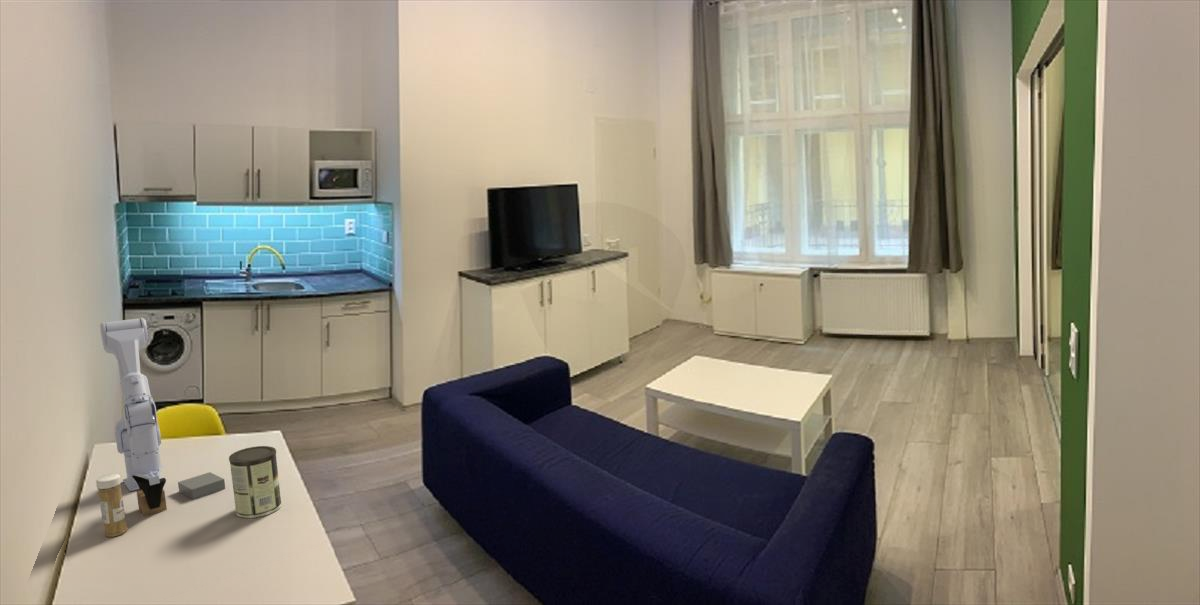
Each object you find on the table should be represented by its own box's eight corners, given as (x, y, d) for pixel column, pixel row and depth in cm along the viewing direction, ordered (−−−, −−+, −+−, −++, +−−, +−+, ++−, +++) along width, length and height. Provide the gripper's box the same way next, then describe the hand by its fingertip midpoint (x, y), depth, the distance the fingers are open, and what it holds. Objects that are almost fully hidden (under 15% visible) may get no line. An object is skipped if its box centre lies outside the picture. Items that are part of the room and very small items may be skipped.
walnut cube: (139, 509, 185) (136, 490, 184) (162, 503, 188) (159, 484, 187) (143, 516, 181) (140, 496, 180) (166, 510, 185) (164, 490, 184)
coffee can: (257, 497, 190) (251, 443, 188) (291, 502, 187) (285, 448, 184) (225, 515, 181) (218, 459, 178) (259, 521, 177) (253, 463, 175)
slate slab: (179, 493, 195) (177, 482, 194) (211, 482, 201) (209, 472, 201) (193, 500, 190) (191, 489, 190) (225, 490, 196) (224, 479, 196)
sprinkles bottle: (128, 533, 172) (120, 477, 170) (104, 539, 170) (95, 482, 168) (127, 526, 176) (119, 471, 174) (103, 531, 174) (95, 476, 171)
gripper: (119, 447, 185) (127, 499, 187) (131, 463, 174) (139, 518, 177) (152, 439, 190) (159, 491, 192) (166, 455, 179) (173, 509, 181)
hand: (152, 504), depth 185 cm, fingers open, 5 cm apart
